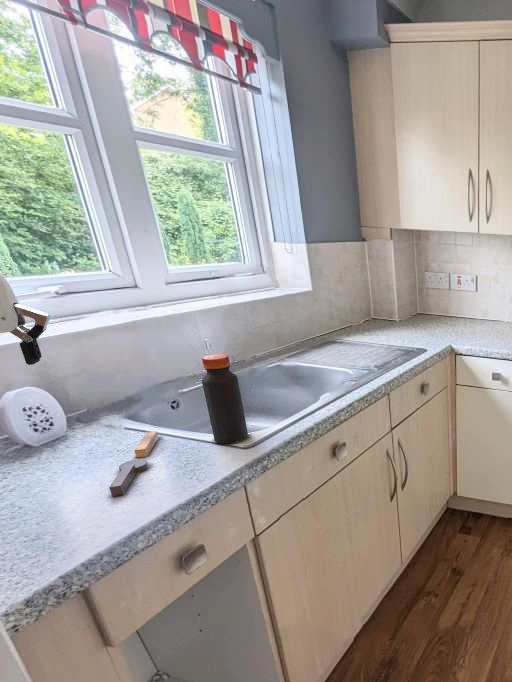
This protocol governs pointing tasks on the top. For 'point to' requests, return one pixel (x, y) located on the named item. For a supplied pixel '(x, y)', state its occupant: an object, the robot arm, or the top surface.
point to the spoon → (127, 475)
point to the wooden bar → (146, 444)
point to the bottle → (223, 400)
